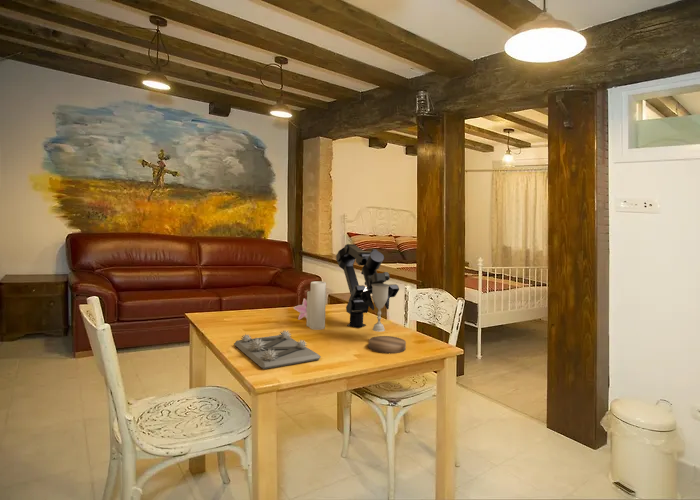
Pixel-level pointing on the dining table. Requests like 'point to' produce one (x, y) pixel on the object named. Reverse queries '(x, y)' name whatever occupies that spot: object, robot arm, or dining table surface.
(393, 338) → the walnut pedestal
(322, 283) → the vase
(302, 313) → the lily
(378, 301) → the chalice
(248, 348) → the decorative plate
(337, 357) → the dining table surface
